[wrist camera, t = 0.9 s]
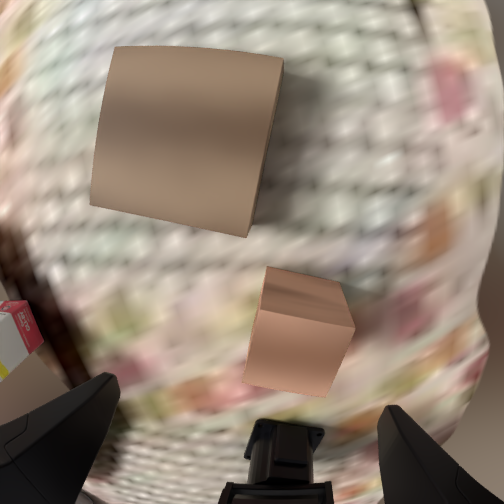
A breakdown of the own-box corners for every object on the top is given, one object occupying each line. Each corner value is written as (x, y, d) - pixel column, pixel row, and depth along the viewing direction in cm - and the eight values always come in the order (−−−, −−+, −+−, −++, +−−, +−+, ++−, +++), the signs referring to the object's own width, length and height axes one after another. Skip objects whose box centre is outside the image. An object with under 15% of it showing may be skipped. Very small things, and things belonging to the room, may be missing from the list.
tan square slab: (252, 225, 20) (246, 238, 17) (112, 197, 21) (89, 205, 18) (283, 71, 17) (283, 58, 14) (135, 57, 17) (114, 46, 14)
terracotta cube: (318, 342, 22) (325, 397, 17) (252, 328, 23) (241, 382, 17) (339, 281, 21) (355, 328, 15) (266, 266, 21) (259, 309, 15)
